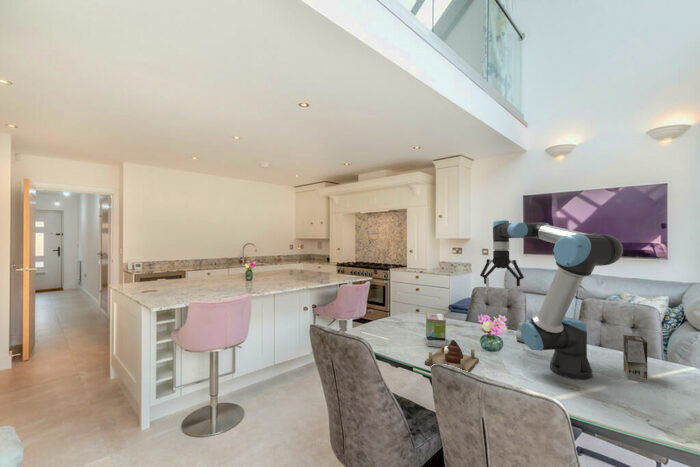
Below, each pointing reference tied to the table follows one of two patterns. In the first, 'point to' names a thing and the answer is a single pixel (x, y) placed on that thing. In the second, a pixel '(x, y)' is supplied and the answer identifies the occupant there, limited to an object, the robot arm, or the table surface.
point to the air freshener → (519, 333)
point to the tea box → (435, 329)
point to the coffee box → (635, 358)
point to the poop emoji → (453, 352)
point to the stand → (439, 358)
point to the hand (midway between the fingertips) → (501, 291)
